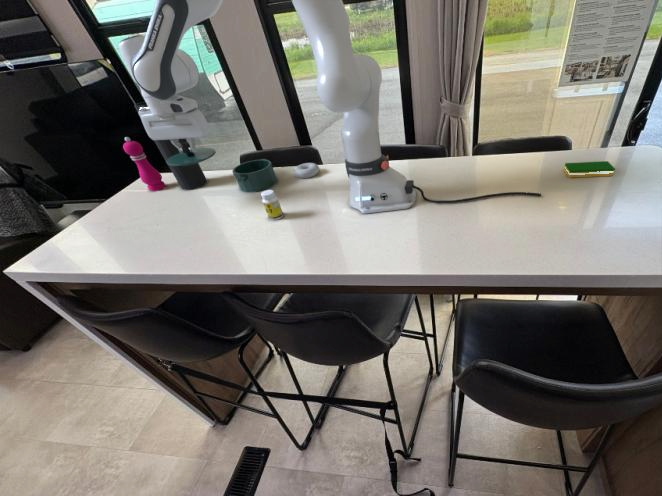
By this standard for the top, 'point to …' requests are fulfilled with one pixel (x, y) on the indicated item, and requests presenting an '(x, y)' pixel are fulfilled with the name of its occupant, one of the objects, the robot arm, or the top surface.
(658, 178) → the top surface
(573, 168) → the dish sponge
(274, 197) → the supplement bottle
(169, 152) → the vase
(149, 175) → the pepper mill
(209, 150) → the lid
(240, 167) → the pot
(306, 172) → the donut
